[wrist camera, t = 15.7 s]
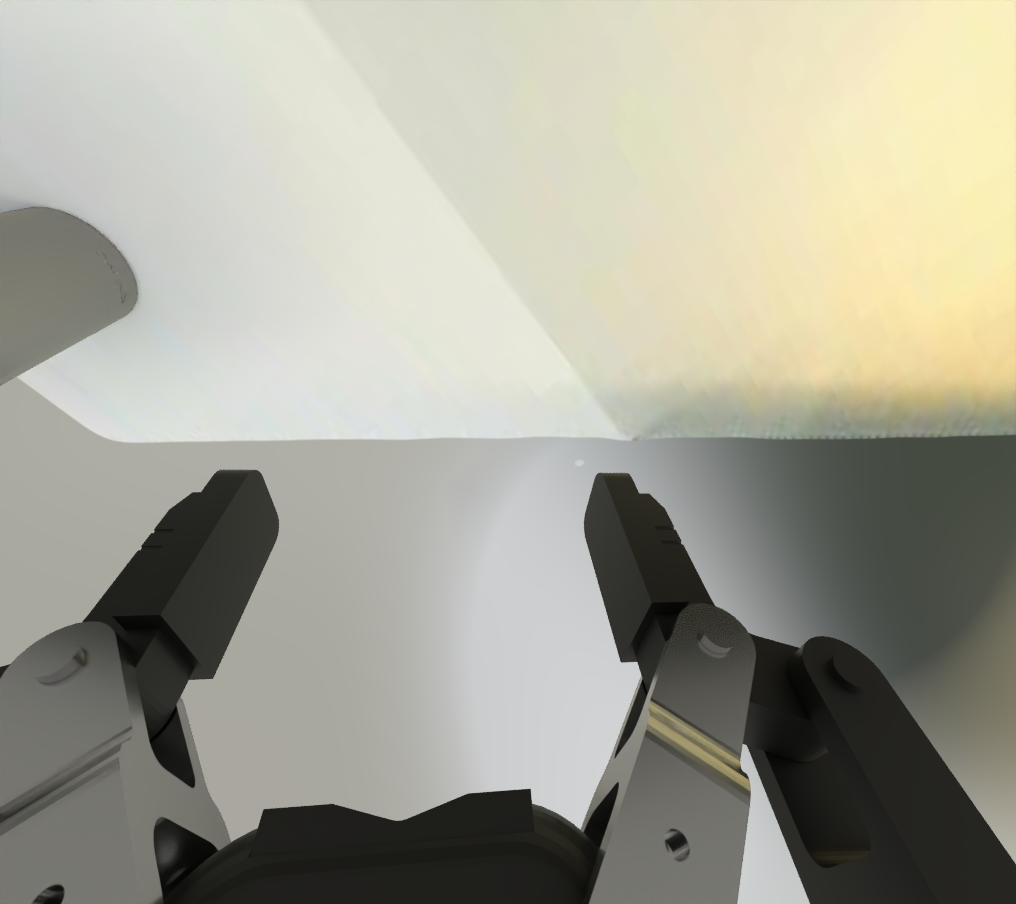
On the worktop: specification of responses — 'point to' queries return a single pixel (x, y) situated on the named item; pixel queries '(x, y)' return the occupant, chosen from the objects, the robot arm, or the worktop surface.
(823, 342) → the worktop surface
